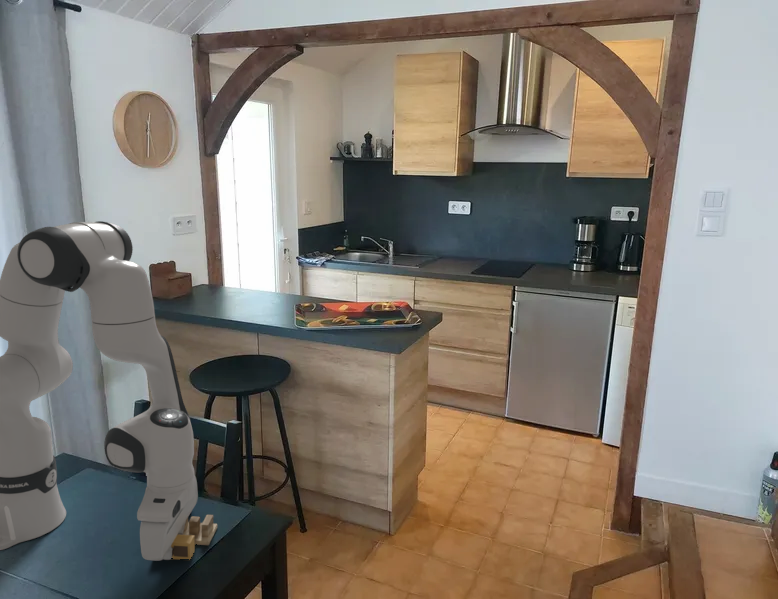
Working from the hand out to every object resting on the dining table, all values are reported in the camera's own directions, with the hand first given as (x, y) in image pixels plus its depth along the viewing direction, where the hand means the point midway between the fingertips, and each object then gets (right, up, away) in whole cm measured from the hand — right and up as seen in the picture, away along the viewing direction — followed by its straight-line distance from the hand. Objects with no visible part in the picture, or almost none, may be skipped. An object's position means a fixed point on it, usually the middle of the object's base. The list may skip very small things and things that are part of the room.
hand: (173, 548), depth 113 cm
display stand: (+2, 0, +7) cm, 7 cm away
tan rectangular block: (0, -2, +1) cm, 2 cm away
